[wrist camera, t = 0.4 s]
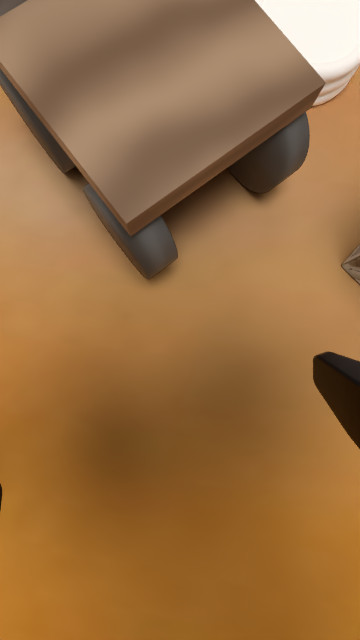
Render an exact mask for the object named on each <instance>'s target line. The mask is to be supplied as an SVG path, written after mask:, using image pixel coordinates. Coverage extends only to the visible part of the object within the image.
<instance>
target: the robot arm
mask: <svg viewBox="0 0 360 640" xmlns="http://www.w3.org/2000/svg"><path fill="white" fill-rule="evenodd" d="M313 380H314V383H315V385H316V387H317V389H318V390H319V392H320V393H321V395H322V396H323V398H324V399H325V401H326V402H327V404H328V405H329V407H330V408H331V410H332V411H333V413H334V414H335V416H336V417H337V419H338V420H339V422H340V423H341V425H342V426H343V428H344V429H345V431H346V432H347V434H348V435H349V436H350V437H351V439H352V440H353V441H354V443H355V444H356V445H357V446H358V447H359V449H360V362H359V361H356V360H354V359H351V358H348V357H345V356H342V355H339V354H336V353H333V352H324V353H321V354H318V355H316V356H314V358H313ZM1 500H2V487H1V484H0V509H1Z"/></svg>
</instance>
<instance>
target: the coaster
mask: <svg viewBox="0 0 360 640" xmlns="http://www.w3.org/2000/svg"><path fill="white" fill-rule="evenodd" d="M255 1H256V2H257V3H258V5H259V6H260V7H261V8H262V9H263V10H264V12H265V13H266V14H267V15H268V16H269V17H270V19H271V20H272V21H273V22H274V23H275V24H276V25H277V27H278V28H279V29H280V30H281V31H282V32H283V34H284V35H285V36H286V37H287V38H288V39H289V41H290V42H291V43H292V44H293V45H294V46H295V47H296V49H297V50H298V51H299V52H300V53H301V54H302V56H303V57H304V58H305V59H306V60H307V61H308V63H309V64H310V65H311V66H312V67H313V68H314V69H315V71H316V72H317V73H318V74H319V75H320V76H321V78H322V79H323V80H324V81H325V82H326V83H325V85H324V87H323V89H322V90H321V92H320V94H319V95H318V97H317V99H316V100H315V102H314V104H313V106H317V105H320V104H323V103H325V102H327V101H329V100H331V99H332V98H334V97H335V96H336V95H337V94H339V93H340V92H341V91H342V90H343V89H344V88H345V86H346V85H347V84H348V82H349V81H350V79H351V77H352V76H353V74H354V73H355V72H356V70H357V69H358V67H359V65H360V0H255Z"/></svg>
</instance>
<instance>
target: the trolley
mask: <svg viewBox="0 0 360 640" xmlns="http://www.w3.org/2000/svg"><path fill="white" fill-rule="evenodd" d="M325 83H326V82H325V81H324V80H323V79H322V78H321V76H320V75H319V74H318V73H317V72H316V71H315V69H314V68H313V67H312V66H311V65H310V64H309V63H308V61H307V60H306V59H305V58H304V57H303V56H302V54H301V53H300V52H299V51H298V50H297V49H296V47H295V46H294V45H293V44H292V43H291V42H290V41H289V39H288V38H287V37H286V36H285V35H284V34H283V32H282V31H281V30H280V29H279V28H278V27H277V25H276V24H275V23H274V22H273V21H272V20H271V19H270V17H269V16H268V15H267V14H266V13H265V12H264V10H263V9H262V8H261V7H260V6H259V5H258V3H257V2H256V1H255V0H0V85H1V87H2V89H3V90H4V92H5V93H6V95H7V96H8V98H9V99H10V101H11V102H12V104H13V105H14V107H15V108H16V110H17V111H18V113H19V114H20V116H21V117H22V119H23V120H24V122H25V123H26V125H27V126H28V127H29V129H30V130H31V132H32V133H33V134H34V136H35V137H36V139H37V140H38V141H39V143H40V144H41V146H42V147H43V148H44V150H45V151H46V152H47V154H48V155H49V156H50V158H51V159H52V160H53V161H54V163H55V164H56V165H57V166H58V167H59V169H60V170H61V171H62V172H63V173H66V172H68V171H69V170H71V169H72V168H74V167H75V166H76V167H77V168H78V169H79V171H80V172H81V173H82V175H83V176H84V177H85V178H86V180H87V181H88V182H89V184H87V185H86V186H84V187H83V191H84V193H85V195H86V197H87V199H88V201H89V202H90V204H91V206H92V207H93V209H94V211H95V212H96V214H97V215H98V217H99V218H100V220H101V221H102V223H103V224H104V226H105V227H106V229H107V230H108V232H109V233H110V234H111V236H112V237H113V239H114V240H115V241H116V243H117V244H118V246H119V247H120V248H121V250H122V251H123V252H124V253H125V255H126V256H127V257H128V259H129V260H130V261H131V262H132V264H133V265H134V266H135V267H136V268H137V270H138V271H139V272H140V273H141V274H142V275H143V276H144V277H145V278H146V279H148V280H149V279H150V278H152V277H153V276H154V275H156V274H157V273H158V272H160V271H161V270H162V269H164V268H165V267H166V266H168V265H169V264H171V263H172V262H173V261H175V260H176V259H177V257H178V253H177V248H176V245H175V243H174V240H173V238H172V235H171V233H170V231H169V229H168V227H167V226H166V224H165V222H164V220H163V218H162V217H161V215H162V214H163V213H164V212H166V211H167V210H169V209H170V208H171V207H173V206H174V205H176V204H177V203H178V202H180V201H181V200H183V199H184V198H185V197H187V196H188V195H190V194H191V193H192V192H194V191H195V190H197V189H198V188H199V187H201V186H202V185H204V184H205V183H206V182H208V181H209V180H211V179H212V178H213V177H215V176H216V175H218V174H219V173H220V172H222V171H223V170H225V169H226V168H228V169H229V171H230V172H231V173H232V175H233V176H234V177H235V178H236V179H237V180H238V181H239V182H240V183H241V184H242V185H243V186H244V187H246V188H247V189H249V190H251V191H254V192H258V193H264V192H268V191H270V190H271V189H272V188H274V187H275V186H276V185H278V184H279V183H281V182H282V181H283V180H285V179H286V178H287V177H289V176H290V175H291V174H293V173H294V172H295V171H297V170H298V169H299V168H300V167H301V165H302V164H303V162H304V161H305V158H306V156H307V152H308V148H309V137H310V135H309V124H308V118H307V115H306V111H307V110H309V109H310V108H311V107H312V106H313V104H314V102H315V100H316V99H317V97H318V95H319V94H320V92H321V90H322V89H323V87H324V85H325Z"/></svg>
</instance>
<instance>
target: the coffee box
mask: <svg viewBox="0 0 360 640" xmlns="http://www.w3.org/2000/svg"><path fill="white" fill-rule="evenodd" d="M342 267H343V268H344V269H345V270H346V271H347V272H348V273H349V274H350V275H351V276H352V277H353V278H354V279H355V280H356V281H357V282H358V283H359V284H360V245H359V246H358V247H357V248H356V249H355V250H354V251H353V253H352V254H351V255H350V256H349V257H348V258H347V259H346V260H345V261H344V262H343V264H342Z"/></svg>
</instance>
